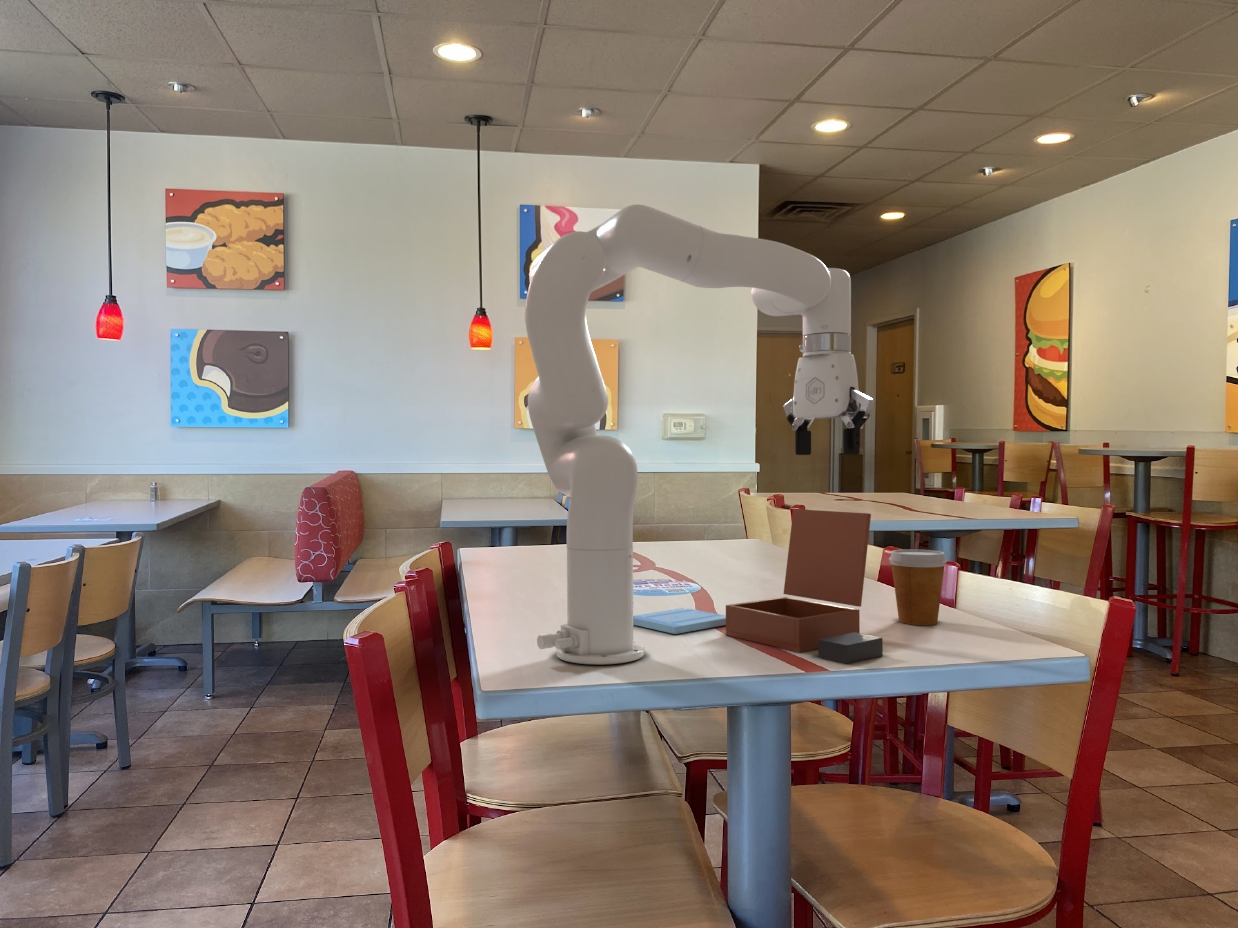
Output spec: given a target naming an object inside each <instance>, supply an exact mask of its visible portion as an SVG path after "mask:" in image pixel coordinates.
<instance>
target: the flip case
mask: <svg viewBox="0 0 1238 928" xmlns="http://www.w3.org/2000/svg"><path fill="white" fill-rule="evenodd" d="M725 616H726V625H725V636H729V637H732V638H736V639H741V640H744V641H745V640H746V641H748V642H749V641H750V642H753V643H758V644H763V645H767V646H769V647H770V646H771V647H775V648H779V649H782V650H788V651H792V652H796V653H803V652H809V651H815V650H818V639H821V638H827V637H832V636H837V635H843V634H848V633H853V632H856V633H861V632H860V628H861V627H860V621H861V619H860V618H861V617H860V609H859V608H852V607H847V606H840V605H835V604H829V603H823V602H817V601H811V600H805V599H799V598H794V597H788V596H781V597H775V598H774V597H773V598H767V599H759V600H752V601H746V602H739V603H732V604H725Z"/></svg>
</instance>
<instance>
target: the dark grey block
mask: <svg viewBox="0 0 1238 928" xmlns="http://www.w3.org/2000/svg"><path fill="white" fill-rule="evenodd" d="M883 640H884V639H883V637H882V636H881V637H880V636H875V635H871V634H865V633H861V632H860V633H856V632H853V633H848V634H843V635H837V636H832V637H827V638H821V639H818V649H817V658H820V659H822V660H823V659H824V660H828V661H832V662H837V663H841V664H845V665H847V664H851V663H856V662H861V661H865V660H870V659H875V658H880V657H883V655H884V649H883V648H884V644H883V643H884V641H883Z"/></svg>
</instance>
